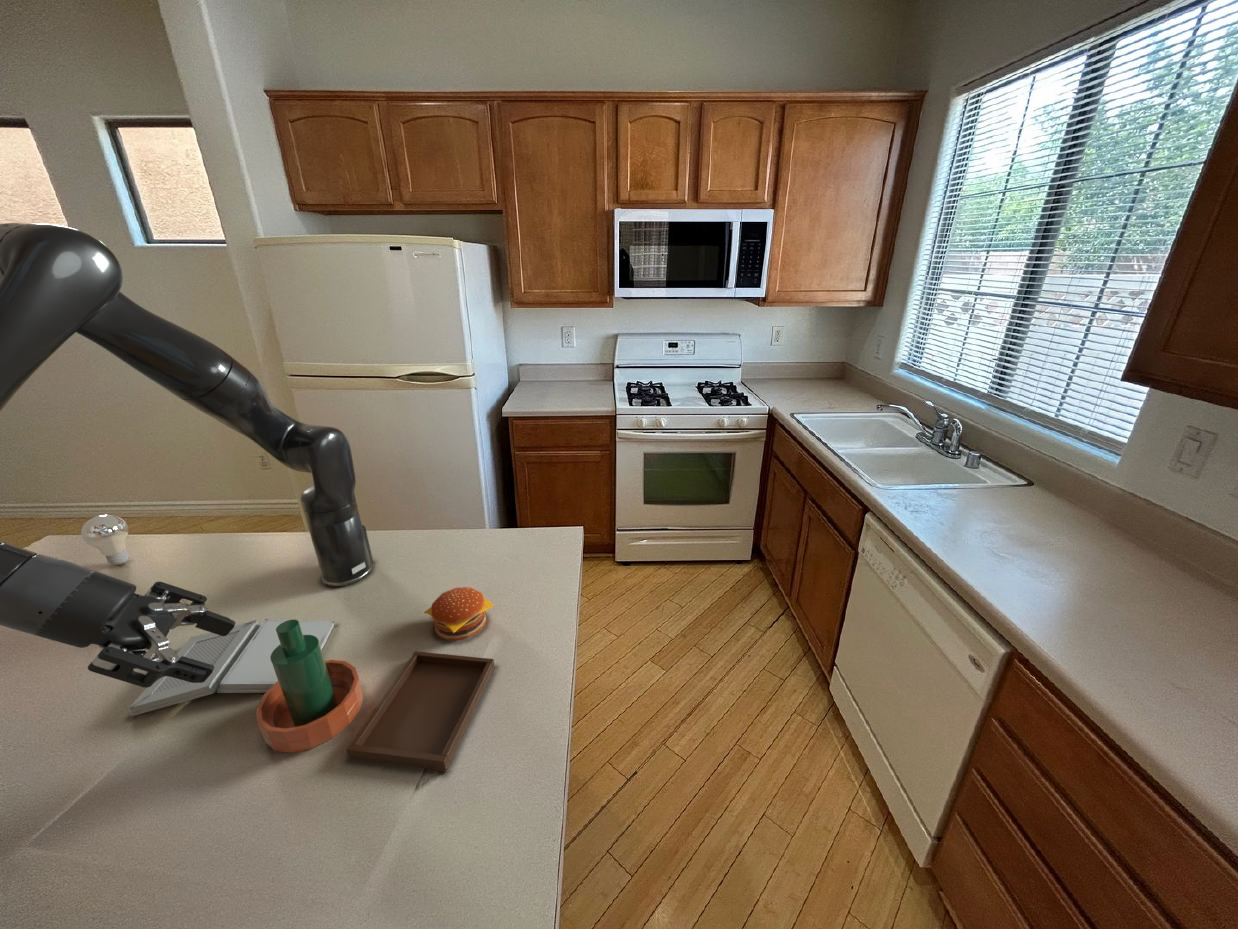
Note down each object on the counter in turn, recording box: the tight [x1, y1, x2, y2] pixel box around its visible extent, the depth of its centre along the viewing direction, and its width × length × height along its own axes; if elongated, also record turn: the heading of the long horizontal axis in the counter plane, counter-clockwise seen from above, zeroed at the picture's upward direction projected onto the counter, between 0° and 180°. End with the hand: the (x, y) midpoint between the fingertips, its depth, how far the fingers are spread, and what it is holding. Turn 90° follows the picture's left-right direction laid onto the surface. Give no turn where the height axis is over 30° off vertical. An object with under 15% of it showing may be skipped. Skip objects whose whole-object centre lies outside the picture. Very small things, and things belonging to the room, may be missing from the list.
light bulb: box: [80, 514, 130, 566], centre depth 102 cm, size 7×7×12 cm
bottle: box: [270, 619, 338, 727], centre depth 66 cm, size 6×6×16 cm
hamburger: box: [423, 586, 495, 641], centre depth 86 cm, size 9×10×7 cm
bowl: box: [255, 659, 365, 754], centre depth 69 cm, size 12×12×4 cm
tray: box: [346, 650, 496, 773], centre depth 70 cm, size 18×14×2 cm
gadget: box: [128, 618, 335, 717], centre depth 77 cm, size 23×15×4 cm, turn 102°
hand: (221, 650), depth 61 cm, fingers open, 8 cm apart
